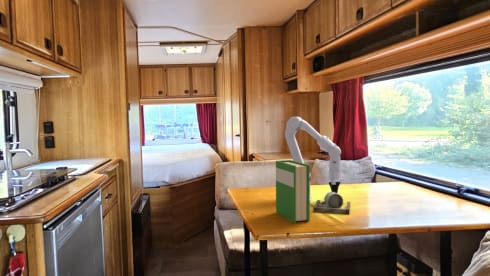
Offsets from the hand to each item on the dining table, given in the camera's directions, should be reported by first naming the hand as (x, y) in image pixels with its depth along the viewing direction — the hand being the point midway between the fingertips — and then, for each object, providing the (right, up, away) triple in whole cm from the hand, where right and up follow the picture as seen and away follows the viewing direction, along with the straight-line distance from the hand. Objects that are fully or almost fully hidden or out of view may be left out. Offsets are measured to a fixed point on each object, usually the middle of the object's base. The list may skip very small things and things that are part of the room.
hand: (334, 196), depth 187 cm
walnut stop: (-5, -4, -14) cm, 15 cm away
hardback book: (-25, -5, -27) cm, 37 cm away
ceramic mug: (-5, -4, -12) cm, 14 cm away
